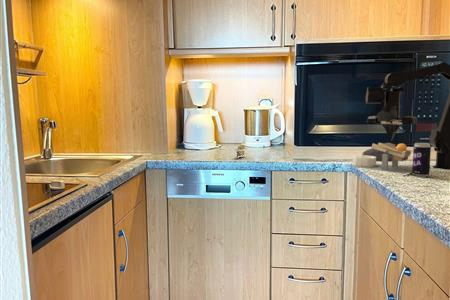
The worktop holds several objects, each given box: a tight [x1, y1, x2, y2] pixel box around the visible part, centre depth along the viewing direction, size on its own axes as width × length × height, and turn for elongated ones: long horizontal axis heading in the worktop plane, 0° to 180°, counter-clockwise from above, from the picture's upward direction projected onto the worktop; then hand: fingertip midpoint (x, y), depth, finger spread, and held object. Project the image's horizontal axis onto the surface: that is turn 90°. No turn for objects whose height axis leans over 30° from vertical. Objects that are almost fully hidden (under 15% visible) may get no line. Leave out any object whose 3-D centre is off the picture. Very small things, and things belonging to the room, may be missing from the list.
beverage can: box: [411, 142, 432, 178], centre depth 135 cm, size 6×6×12 cm
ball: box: [396, 143, 408, 152], centre depth 141 cm, size 4×4×4 cm
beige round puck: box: [352, 154, 377, 167], centre depth 153 cm, size 9×9×4 cm
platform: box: [234, 144, 248, 158], centre depth 183 cm, size 12×18×7 cm, turn 160°
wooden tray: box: [371, 142, 413, 162], centre depth 147 cm, size 16×13×4 cm
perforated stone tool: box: [361, 147, 392, 162], centre depth 167 cm, size 15×5×7 cm, turn 79°
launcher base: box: [345, 154, 414, 177], centre depth 148 cm, size 14×24×7 cm, turn 42°
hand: (390, 140), depth 155 cm, fingers closed
